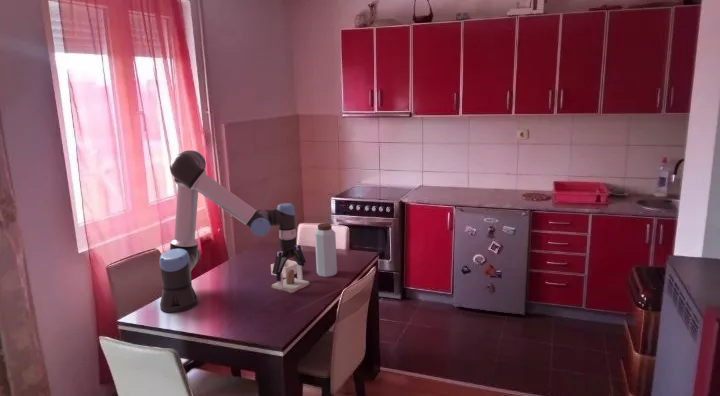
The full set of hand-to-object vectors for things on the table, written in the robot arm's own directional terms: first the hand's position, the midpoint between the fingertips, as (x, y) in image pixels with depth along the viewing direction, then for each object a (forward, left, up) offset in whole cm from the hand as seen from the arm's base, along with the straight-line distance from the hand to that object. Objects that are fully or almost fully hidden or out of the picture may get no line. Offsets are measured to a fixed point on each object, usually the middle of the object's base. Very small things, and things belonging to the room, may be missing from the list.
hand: (290, 283), depth 232 cm
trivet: (0, 0, -2) cm, 2 cm away
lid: (0, 0, -1) cm, 1 cm away
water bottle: (+21, -4, -2) cm, 22 cm away
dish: (+11, +14, -2) cm, 18 cm away
